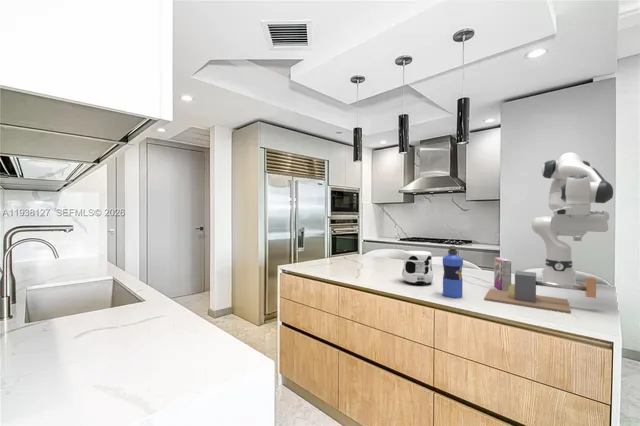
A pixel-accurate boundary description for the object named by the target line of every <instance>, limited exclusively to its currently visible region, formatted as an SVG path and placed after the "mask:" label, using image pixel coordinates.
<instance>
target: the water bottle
mask: <svg viewBox="0 0 640 426" xmlns="http://www.w3.org/2000/svg"><path fill="white" fill-rule="evenodd" d="M447 253H448V254H447V255H445V256H443V257H442V267H443V275H442V276H443V277H442V296H443V297H445V298H450V299H461V298H463V274H462V273H463V266H464V258H462V257H461V256H459V255H458V249H457V247H456V246H455V245H450V246H449V247H448V251H447Z"/></svg>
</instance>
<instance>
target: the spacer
mask: <svg viewBox="0 0 640 426" xmlns="http://www.w3.org/2000/svg"><path fill="white" fill-rule="evenodd" d="M509 298H514V299H515V283H511V284H509Z"/></svg>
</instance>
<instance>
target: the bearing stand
mask: <svg viewBox="0 0 640 426" xmlns="http://www.w3.org/2000/svg"><path fill="white" fill-rule="evenodd" d="M536 281H537V272H534V271H533V272H532V271H525V270H524V271H523V270H515V273H514V284H515V299H514V298H509V291H502V290H499V289H494V288H490V289H488V292H487V293H486V294H485V296H484V298H483V300H484V301H489V302H495V303H500V304H507V305H514V306H519V307H527V308H533V309H540V310H546V311H551V310H552V311H553V312H557V311H559V312H558V313H564V312H565V313H566V314H571V313H572V312H571V311H572V310H571V307H570V304H569V303H570V302H569V300H568V298H560V297H552V296H546V295H545V296H544V295H538V294H537V285H536ZM552 311H551V312H552ZM565 313H564V314H565Z"/></svg>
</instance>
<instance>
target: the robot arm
mask: <svg viewBox="0 0 640 426" xmlns="http://www.w3.org/2000/svg"><path fill="white" fill-rule="evenodd" d="M540 172H541V174H542V177H543V178H545V179H553V180H552V182H551V185H550V188H549V192H548V194H549V195H548V207H549V209H550V210H551V211H552V213H553V215H552V216H551V215H549V216H548V215H543V216H536V217H534V219H533V220H532V222H531V228H532V231H533V232H534V233H535V234H536V235H538V236H539V237H540V238H541V239H542V240H543V241H544V244H545V248H546V258H545V266H544V267H543V268H542V269H541V278H540V279H538V280H537V281H541V282H550V283H559V284H568V285H577V286H581V284H579V283H578V282H577V274H576V273H577V272H576V271H575V269H573V261H572V247H571V245H569V244H568V243H567V242H564V241H562V240H560V239H559V238H558V236H561V237H563V236H564V237H565V236H566V237H572V238H573V239H572V241H573V242H583V240H582V239H583V237H584V236H585V235H586V234H587V233H588V232H589V233H590V232H597V233H606V232H608V231H609V223H608V221H609V219H610V214H609V212H607V211H605V210H592V209H591V208H592V205H591V203H594V204H606V203H607V202H609V201H610V200H612V199H613V197H614V188H613V185H612V184H611V183H610V182H608V181H607V180H606V179H605V178H604V177H603V176H602V174H601V173H600V172H599V171H598V170H597V169H596V168H595V167H592V166H591V163H590V162H589V161H587V160H583V159H582V157H581V156H580V155H579V154H577V153H575V152H571V151H570V152H565V153H563V154H562V155H561V156H560V157H559V158H558V160H555V159H551V160H547V161H546V162H544V163H543V165H542V166H541V171H540Z"/></svg>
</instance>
